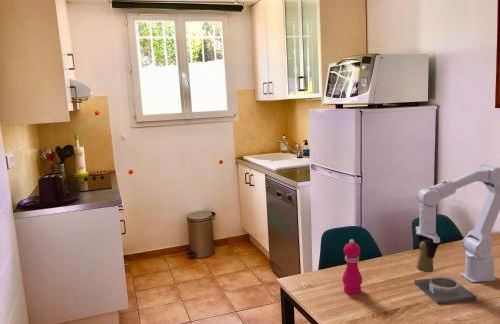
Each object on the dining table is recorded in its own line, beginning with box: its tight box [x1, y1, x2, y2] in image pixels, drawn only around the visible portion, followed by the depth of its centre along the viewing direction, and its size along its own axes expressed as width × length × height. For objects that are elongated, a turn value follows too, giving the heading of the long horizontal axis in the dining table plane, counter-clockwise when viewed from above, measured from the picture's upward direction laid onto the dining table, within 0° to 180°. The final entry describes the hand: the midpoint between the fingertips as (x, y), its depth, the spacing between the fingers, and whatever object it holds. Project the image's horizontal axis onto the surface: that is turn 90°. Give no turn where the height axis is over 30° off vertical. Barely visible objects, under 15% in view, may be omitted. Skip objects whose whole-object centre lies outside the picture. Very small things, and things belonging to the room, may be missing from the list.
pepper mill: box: [341, 238, 363, 296], centre depth 147 cm, size 7×7×20 cm
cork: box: [416, 241, 434, 273], centre depth 153 cm, size 6×6×11 cm
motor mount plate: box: [414, 276, 477, 305], centre depth 145 cm, size 14×16×4 cm
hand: (427, 254), depth 153 cm, fingers closed on cork, 5 cm apart
